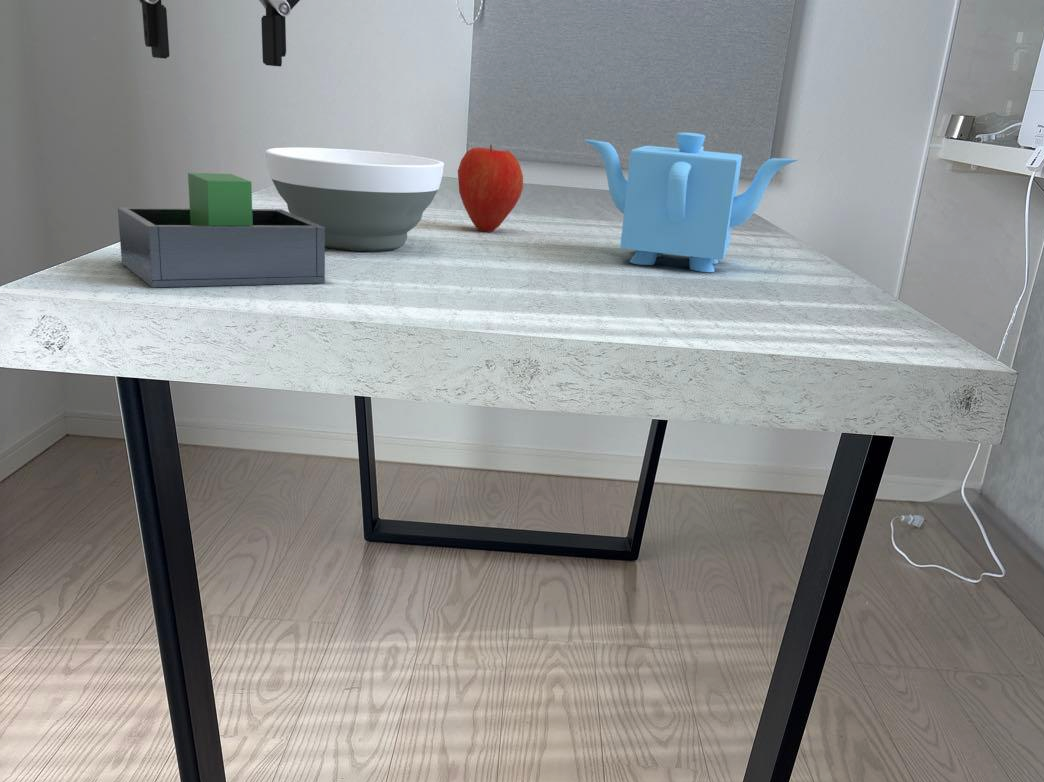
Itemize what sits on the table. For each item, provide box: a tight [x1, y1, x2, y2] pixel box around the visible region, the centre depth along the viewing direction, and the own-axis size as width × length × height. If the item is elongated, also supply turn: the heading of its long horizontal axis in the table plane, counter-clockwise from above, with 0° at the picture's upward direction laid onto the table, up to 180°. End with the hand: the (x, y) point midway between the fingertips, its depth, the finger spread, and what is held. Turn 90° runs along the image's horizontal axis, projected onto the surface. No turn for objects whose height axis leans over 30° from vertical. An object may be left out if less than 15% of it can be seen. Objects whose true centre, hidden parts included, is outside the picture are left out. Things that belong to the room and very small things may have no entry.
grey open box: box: [117, 206, 326, 289], centre depth 98 cm, size 16×12×5 cm
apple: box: [457, 144, 524, 233], centre depth 138 cm, size 9×8×11 cm
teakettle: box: [584, 132, 798, 273], centre depth 126 cm, size 19×19×15 cm
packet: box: [187, 172, 253, 225], centre depth 97 cm, size 6×4×8 cm, turn 32°
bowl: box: [265, 147, 445, 252], centre depth 119 cm, size 20×20×10 cm
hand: (217, 61), depth 91 cm, fingers open, 9 cm apart
